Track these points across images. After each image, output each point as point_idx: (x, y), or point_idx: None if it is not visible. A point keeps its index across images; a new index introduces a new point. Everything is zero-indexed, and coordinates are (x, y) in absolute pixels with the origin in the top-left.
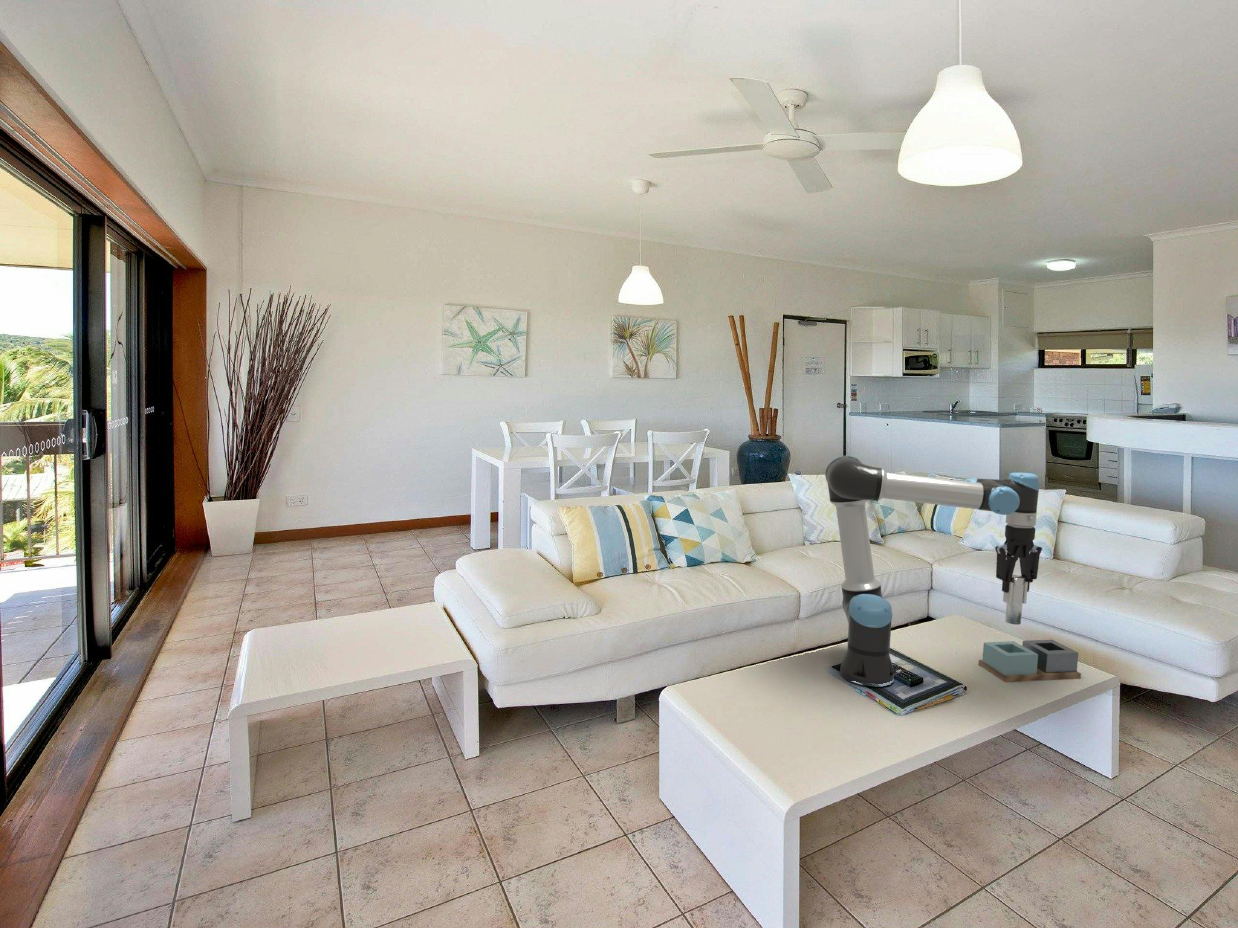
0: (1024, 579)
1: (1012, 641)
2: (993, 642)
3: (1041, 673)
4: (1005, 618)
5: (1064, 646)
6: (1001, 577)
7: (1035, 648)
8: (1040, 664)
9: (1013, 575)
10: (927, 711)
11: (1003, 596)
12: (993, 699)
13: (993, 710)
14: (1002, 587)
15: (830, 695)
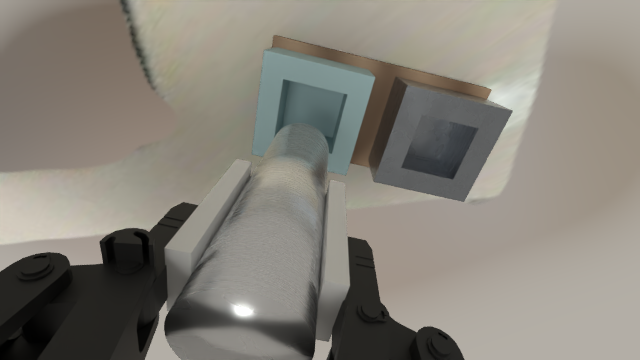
0: (336, 328)
1: (368, 77)
2: (297, 62)
3: (358, 155)
4: (276, 135)
5: (479, 162)
6: (22, 335)
7: (387, 139)
8: (375, 147)
9: (243, 312)
10: (26, 174)
11: (225, 173)
12: (180, 181)
13: (152, 208)
14: (163, 222)
15: None
